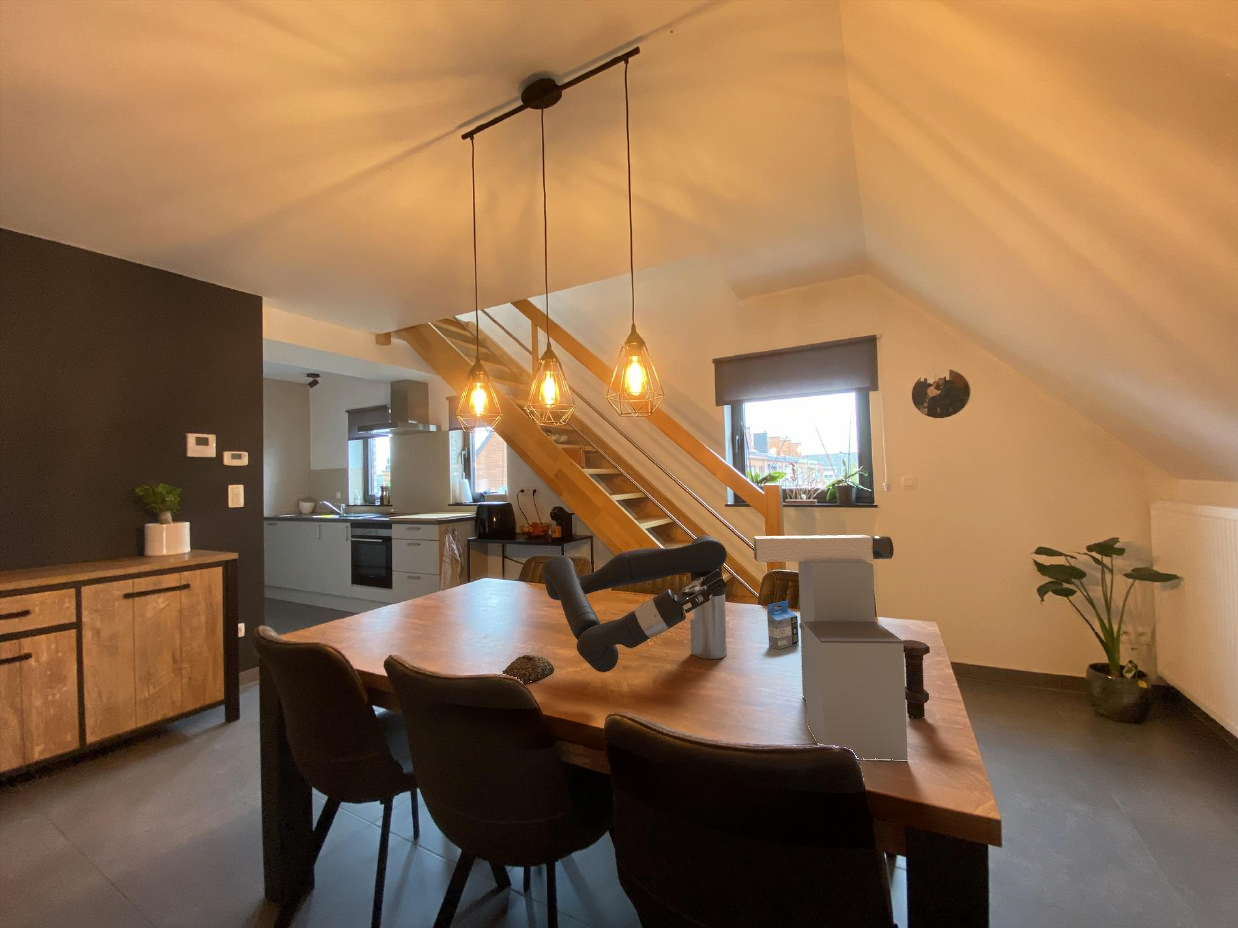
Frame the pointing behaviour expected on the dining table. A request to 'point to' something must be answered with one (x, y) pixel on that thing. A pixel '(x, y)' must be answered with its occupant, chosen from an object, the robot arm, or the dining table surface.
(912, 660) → the bolt
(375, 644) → the dining table surface
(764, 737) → the dining table surface
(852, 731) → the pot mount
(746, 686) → the dining table surface
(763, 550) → the knob shaft
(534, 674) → the dark brown domed lump
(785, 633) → the label tape box
